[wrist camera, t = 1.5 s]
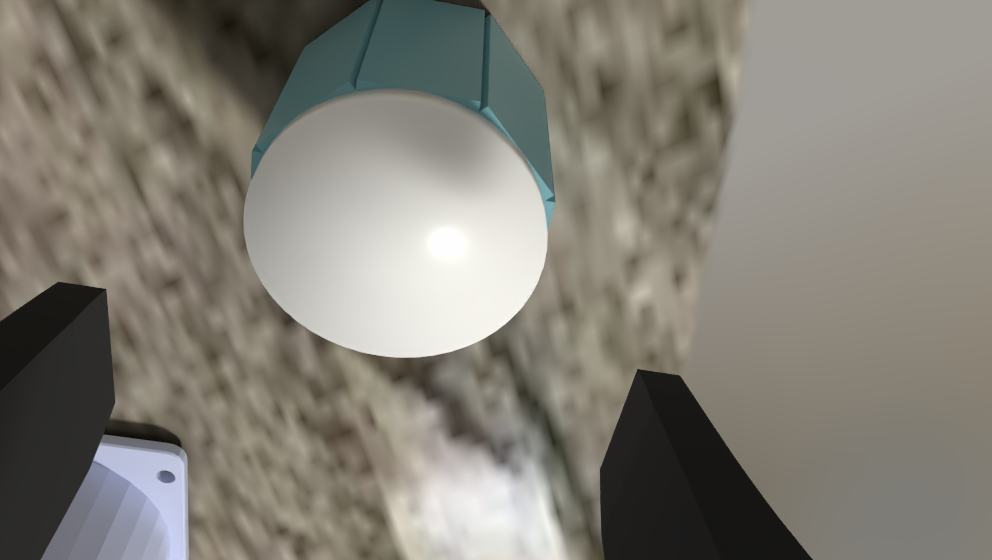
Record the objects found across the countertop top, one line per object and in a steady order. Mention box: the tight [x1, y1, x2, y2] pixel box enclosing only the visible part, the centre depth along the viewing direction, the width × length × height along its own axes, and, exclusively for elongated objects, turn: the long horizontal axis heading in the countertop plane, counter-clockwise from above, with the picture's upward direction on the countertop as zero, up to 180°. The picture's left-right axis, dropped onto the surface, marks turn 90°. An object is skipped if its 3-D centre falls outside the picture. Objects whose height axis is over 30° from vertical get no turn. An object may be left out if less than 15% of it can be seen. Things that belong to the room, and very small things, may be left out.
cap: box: [243, 0, 555, 357], centre depth 17 cm, size 5×5×5 cm
